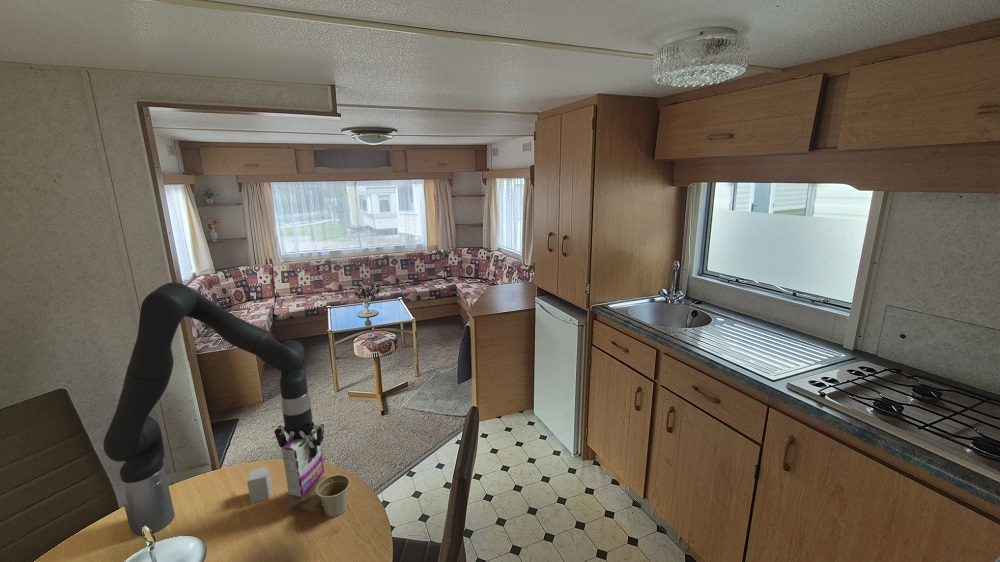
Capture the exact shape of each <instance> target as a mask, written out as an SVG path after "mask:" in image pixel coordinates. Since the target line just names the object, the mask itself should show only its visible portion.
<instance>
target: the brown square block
mask: <svg viewBox="0 0 1000 562" xmlns="http://www.w3.org/2000/svg"><path fill="white" fill-rule="evenodd" d="M327 477H328V476H320V478H319V479H318V480H317V481H316V482H315V483H314V484H313V486H312V487H311V488H310V489H309V490H308V491H307V492H306V493H305V495H304V496H303V497H299V496H293V495H289V494H287V497H286V499H285V500H284V507H285V513H286V514H287V513H289V514H291V513H293V514H294V513H308V512H309V513H310V512H311V513H313V512H320V511H322V509H323V504H322V501H321V498H320V497H319V496H318V495H317V493H316V488H317V486H318V484H319V483H320V482H321V481H322V480H324V479H325V478H327Z"/></svg>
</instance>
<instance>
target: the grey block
mask: <svg viewBox="0 0 1000 562" xmlns="http://www.w3.org/2000/svg"><path fill="white" fill-rule="evenodd" d="M271 479H272V478H271V473H270V467H269V466H266V467H263V468H262V467H261V468H257V469H253V470H250V472H249V475H248V477H247V480H246V482H247V489H248V493H249V500H250V504H252V503H257V502H258V503H259V502H262V501H265V500H266V499H267V500H270V497H271V493H272V489H273V487H272V480H271ZM267 500H266V501H267Z"/></svg>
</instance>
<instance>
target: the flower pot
mask: <svg viewBox="0 0 1000 562" xmlns="http://www.w3.org/2000/svg"><path fill="white" fill-rule="evenodd" d="M326 477H327V478H325V479H324V480H322V481H321V482H320V483H319V484H318V486H317V488H316V493H317V495H318V496H319V497H320V498H321V501H322V504H323V506H322V508H323V509H324V512H325V515H326V516H328V517H331V518H336V517H338V516H341V515H342V514H343V513H344V512H345V511H346V510H347V508H348V492H349V491H348V490H349V486H350V484H351V479H350V478H349V476H347V475H345V474H334V475H330V476H326Z"/></svg>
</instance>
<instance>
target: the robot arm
mask: <svg viewBox="0 0 1000 562" xmlns="http://www.w3.org/2000/svg"><path fill="white" fill-rule="evenodd" d="M185 317H188V318H191V319H194V320H196V321H199V322H201V323H203V324H205V325H206V326H208V327H209V328H211V329H212V330H213V331H214V332H215V333H217V334H218V335H219V336H220V337H221V338H222V339H223V340H224V341H226V342H227V343H228V344H230V345H232V346H234V347H236V348H238V349H240V350H242V351H244V352H248V353H249V354H253V356H254V355H255V356H256V357H257V358H259V359H261V360H262V361H263V362H265V363H266V364H267V365H269V366H271V368H274V369H276V370H277V371H280V378H279V379H280V380H279V389H280V395H281V396H280V397H281V409H282V416H283V417H282V419H283V424H284V426H282V425H278V426H277V427H276V428H275V429H274V431H273V432H274V434H275V438H276V441H277V445H278V446H279V448H282V447H283V446H284V445H285V444H287V443H288V442H289V441H292V440H293V439H294V440H295V439H304V440H305V441H306V443H308V444H309V446H310V453H311V458H314V457H315V456H316V455H317V453H318V450H317V446H320V445H321V444H322V442H323V441H324V432H325V424H323V423H320V424H319V425H317V424H315V423H314V422H313V412H312V403H311V399H310V394H309V389H308V382H307V377H306V376H307V375H306V353H305V348H304V346H303V345H302V343H300V341H297V340H293V339H288V340H286V341H283V342H282V343H281V342H280V341H278V340H276V339H275V338H274V335H273V333H271V332H269V331H267V330H265V329H263V328H262V327H259V326H257V325H255V324H252V323H250V322H248V321H246V320H244V319H242V318H240V317H238V316H236V315H235V314H232V313H231V312H229V311H228V310H226V309H224V308H222V307H221V306H220V305H217V304H216V303H215V302H213V301H211V300H210V299H209V298H207V297H205V296H203V295H202V294H201V293H199V292H197V291H196V290H194V289H193V288H191V287H190V286H188V285H185V284H183V283H181V282H168V283H165V284H163V285H162V284H161V286H159V287H157V288H156V289H155V290H153V291H151V292H149V294H148V295H146V296H145V297H144V299H143V301H142V302H141V306H140V312H139V321H138V328H137V330H138V331H137V337H136V340H135V343H134V346H133V349H132V352H131V356H130V360H129V362H128V365H127V368H126V373H125V377H124V380H123V385H122V389H121V393H120V395H119V399H118V402H117V407H116V409H115V412H114V415H113V417H112V420H111V423H110V425H109V427H108V428H107V429H108V430H107V432H106V434H105V436H104V439H103V451H104V453H105V455H106V457H108V459H110V460H111V461H114V462H116V463H117V462H121V463H122V462H124V463H123V464H122V466H121V468H120V470H119V476H120V481H121V483H122V489H123V492H124V495H125V498H126V499H125V502H123V508H124V511H125V514H126V517H127V521H128V525H129V529H130V532H134V533H135V534H136V535H141V536H143V535H142V527H143V526H144V525H146V526H148V527H149V528H150V529H151V530H152V532H153V533H156V532H158V531H160V530H162V529H164V528H165V527H166V526H168V525H169V524H170V523H171V522H172V521H173V520H174V519H175V515H176V514H175V513H176V512H175V508H174V505H173V500H172V496H171V492H170V486H169V483H168V479H167V478H168V477H167V474H166V470H165V466H164V458H165V447H164V440H163V435H162V430H161V427H160V424H159V423H158V422H157V420H156V419H155V418H154V417H152V416H151V415H150V413H152V410H153V409H154V407H155V406H156V404H158V402H159V400H160V399H161V398H162V396H163V394H164V393H165V391H166V389H167V388H168V385H169V383H170V380H171V377H172V374H173V373H172V372H173V368H174V356H173V351H172V344H173V340H174V337H175V334H176V331H177V329H178V327H179V325H180V323H181V322H182V320H183V319H184V318H185ZM313 429H314V430H315V432H316V434H317V439H316V438H315V437H314V433H313V432H312V430H313ZM285 433H286V434H287V435H288V439H287V437H286V435H285ZM309 435H311V436H310V437H308V436H309Z"/></svg>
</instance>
